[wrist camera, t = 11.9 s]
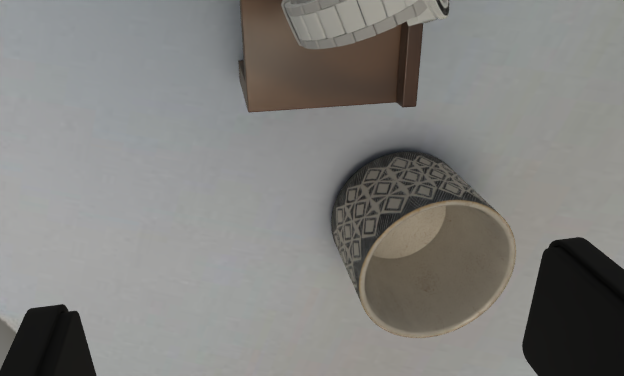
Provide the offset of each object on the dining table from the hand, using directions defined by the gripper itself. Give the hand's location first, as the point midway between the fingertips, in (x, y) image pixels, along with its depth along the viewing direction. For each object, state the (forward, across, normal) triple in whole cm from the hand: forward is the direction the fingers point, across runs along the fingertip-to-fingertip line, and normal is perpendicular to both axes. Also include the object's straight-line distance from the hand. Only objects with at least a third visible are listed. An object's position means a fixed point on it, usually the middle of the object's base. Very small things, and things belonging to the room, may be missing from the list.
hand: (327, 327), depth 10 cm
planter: (+32, -14, +16) cm, 39 cm away
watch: (+24, -6, -5) cm, 25 cm away
